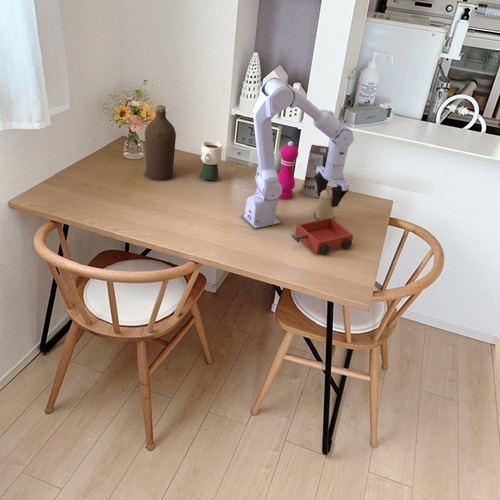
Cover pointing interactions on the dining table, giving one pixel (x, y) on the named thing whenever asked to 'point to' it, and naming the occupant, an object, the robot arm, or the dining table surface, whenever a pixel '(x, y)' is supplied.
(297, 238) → the cart wheels
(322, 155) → the coffee box
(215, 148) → the character mug
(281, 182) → the pepper mill
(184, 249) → the dining table surface
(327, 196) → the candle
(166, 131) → the olive oil
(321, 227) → the cart
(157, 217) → the dining table surface
